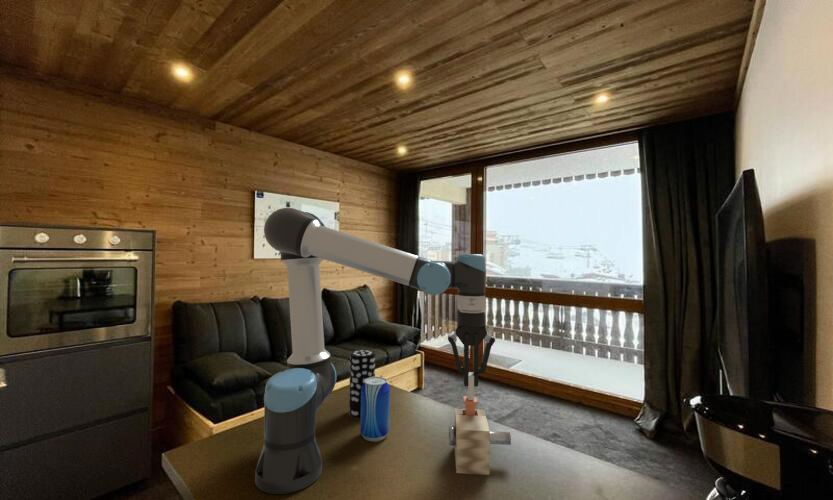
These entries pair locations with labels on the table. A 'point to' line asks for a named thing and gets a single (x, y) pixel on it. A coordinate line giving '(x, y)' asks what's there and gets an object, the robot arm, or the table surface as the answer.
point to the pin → (495, 437)
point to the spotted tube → (359, 378)
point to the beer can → (375, 409)
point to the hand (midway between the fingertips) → (470, 398)
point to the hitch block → (472, 443)
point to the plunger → (470, 405)
